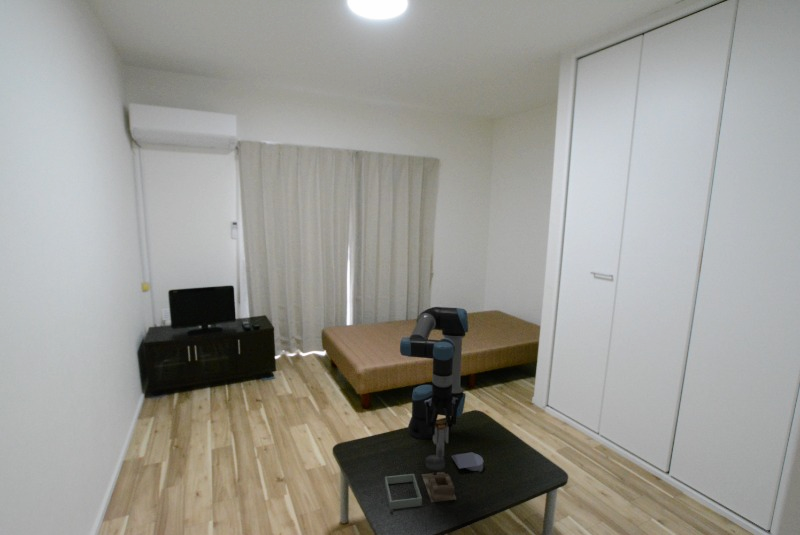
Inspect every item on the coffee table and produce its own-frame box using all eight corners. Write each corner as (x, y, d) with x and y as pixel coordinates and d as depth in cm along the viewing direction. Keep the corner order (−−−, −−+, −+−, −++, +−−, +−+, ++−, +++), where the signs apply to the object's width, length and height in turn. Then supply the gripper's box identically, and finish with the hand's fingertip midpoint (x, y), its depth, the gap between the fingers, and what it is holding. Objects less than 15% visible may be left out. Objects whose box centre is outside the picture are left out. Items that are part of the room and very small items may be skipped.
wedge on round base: (458, 476, 157) (486, 471, 160) (459, 461, 156) (487, 456, 160) (450, 462, 166) (477, 458, 169) (451, 448, 165) (477, 444, 168)
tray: (384, 485, 150) (384, 476, 150) (413, 482, 153) (413, 473, 152) (390, 511, 137) (390, 502, 136) (421, 507, 139) (421, 498, 138)
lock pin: (433, 452, 145) (434, 420, 144) (443, 451, 146) (444, 419, 144) (436, 459, 141) (437, 426, 140) (446, 457, 142) (447, 425, 140)
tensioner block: (420, 475, 157) (421, 454, 156) (443, 472, 159) (444, 452, 158) (431, 504, 141) (432, 482, 140) (456, 501, 142) (457, 479, 141)
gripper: (422, 389, 135) (421, 449, 138) (467, 386, 138) (464, 445, 141) (418, 380, 142) (416, 438, 145) (460, 378, 146) (457, 434, 148)
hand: (440, 441), depth 143 cm, fingers closed on lock pin, 4 cm apart
